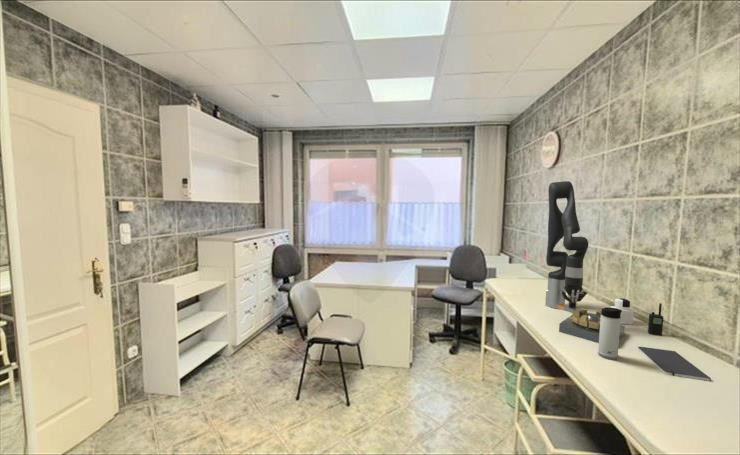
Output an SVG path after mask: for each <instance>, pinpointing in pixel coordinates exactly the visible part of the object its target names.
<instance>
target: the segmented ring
mask: <svg viewBox="0 0 740 455" xmlns="http://www.w3.org/2000/svg"><path fill="white" fill-rule="evenodd" d="M558 310H562V311H565V312H568V313H571V315H572V321H573V322H575V323H577V324H579V325H582V326H585V327H589V328H594V329H600V319H601V318H598V322H594V321H589V316H586V315H584V313H589V312H588V310H587V309H586V308H581V307H580V308H577V307H576V308H574V307H570V306H569V305H567V304H565V305H563V304H559V305H558ZM592 313H593V314H597V315H600V316H601V310H597V311H596V312H592Z"/></svg>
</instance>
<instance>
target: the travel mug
mask: <svg viewBox="0 0 740 455" xmlns="http://www.w3.org/2000/svg"><path fill="white" fill-rule="evenodd" d="M600 311H601V319H600V333H599V343H598V348H597V349H598V351H597V354H598V355H599V356H600V357H601V358H604V359H605V360H611V361H612V360H613V361H614V360H615V361H616V360H618V359H619V344H620V340H619V333H620V325H621V324H620V319H621V316H620V315H621V312H622V310H620V309H617V308H610V307H608V306H607V307H603V308H601V310H600Z"/></svg>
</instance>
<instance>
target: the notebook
mask: <svg viewBox="0 0 740 455" xmlns="http://www.w3.org/2000/svg"><path fill="white" fill-rule="evenodd" d="M637 348H638V351H639V352H641V353H642V354H643V355H644V357H646V358H647V359H648V360H649V361H650V362H652V364H653V365H655V367H657V369H659V371H661V372H662V373H663V374H665V375H669V376H673V377H675V376H676V377H683V378H689V379H697V380H701V381H702V380H703V381H709V382H711V381H712V378H711V377H710V376H708V375H707V374H706V373H704V372H703V371H702V370H700V369H699V368H698V367H697V366H695V365H694V364H692V363H691V361H689V360H687V358H685V357H684V356H683V355H681V354H679V353H678V352H677V351H676V350H669V349H661V348H654V347H646V346H637Z"/></svg>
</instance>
